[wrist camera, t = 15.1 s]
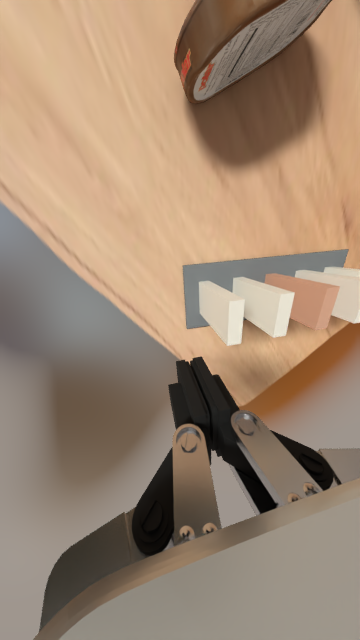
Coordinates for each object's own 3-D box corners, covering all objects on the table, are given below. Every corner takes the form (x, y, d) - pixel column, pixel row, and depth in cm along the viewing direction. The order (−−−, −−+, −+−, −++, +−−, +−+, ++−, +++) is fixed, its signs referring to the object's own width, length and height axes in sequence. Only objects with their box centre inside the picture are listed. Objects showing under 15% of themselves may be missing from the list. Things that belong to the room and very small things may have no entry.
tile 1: (209, 280, 25) (244, 299, 16) (209, 311, 27) (241, 343, 18) (198, 281, 25) (229, 301, 16) (199, 313, 27) (227, 345, 18)
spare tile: (261, 304, 29) (315, 330, 20) (265, 274, 27) (327, 288, 18) (269, 303, 29) (326, 328, 20) (274, 273, 27) (340, 286, 18)
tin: (298, 2, 17) (428, -203, 9) (303, 49, 18) (419, -94, 10) (166, 87, 17) (184, -41, 10) (180, 126, 18) (206, 42, 11)
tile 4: (304, 269, 28) (381, 280, 19) (298, 298, 30) (364, 321, 21) (296, 270, 28) (369, 282, 19) (290, 300, 30) (354, 323, 21)
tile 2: (242, 276, 26) (294, 292, 17) (240, 307, 28) (285, 335, 19) (233, 277, 26) (280, 294, 17) (231, 308, 28) (273, 337, 19)
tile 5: (332, 266, 29) (419, 275, 20) (324, 295, 31) (399, 315, 22) (324, 267, 28) (408, 276, 19) (317, 296, 30) (389, 316, 21)
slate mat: (346, 249, 28) (348, 249, 28) (328, 305, 32) (330, 306, 32) (182, 265, 24) (183, 265, 24) (186, 327, 28) (187, 328, 28)
